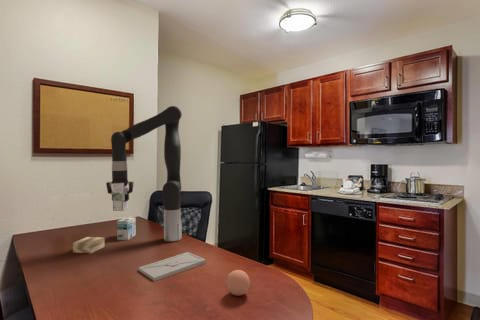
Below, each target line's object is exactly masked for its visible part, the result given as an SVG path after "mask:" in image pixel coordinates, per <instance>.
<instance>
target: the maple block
mask: <svg viewBox="0 0 480 320" xmlns="http://www.w3.org/2000/svg"><path fill="white" fill-rule="evenodd" d="M105 244H106V243H105V237H98V236H96V237H95V236H94V237H93V236H85V237H83V238H81V239H79V240H76V241H74V242H72V253H76V254H77V253H78V254H79V253H80V254H93V253H95V252H97V251H99V250H101V249H103V248H104V247H105Z"/></svg>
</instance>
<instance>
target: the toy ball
mask: <svg viewBox="0 0 480 320" xmlns="http://www.w3.org/2000/svg"><path fill="white" fill-rule="evenodd" d="M225 284H226V288H227V290H228V291H229V293H230V294H232V295H233V296H237V297H238V296H242V295H245V294H246V293H247V291H249V289H250V286H251V280H250V276H249V275H248V274H247V272H245V271H244V270H241V269H235V270H233V271H231V272H230V273H229V274H228V275H227V277H226V281H225Z"/></svg>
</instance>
